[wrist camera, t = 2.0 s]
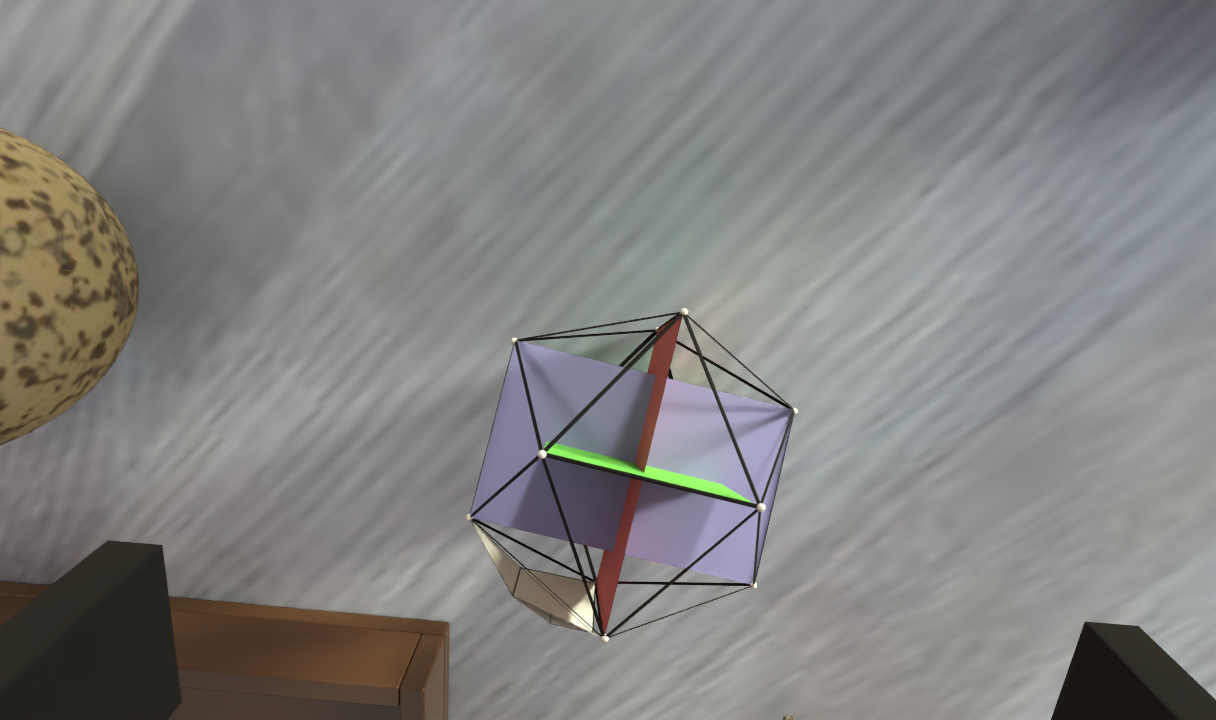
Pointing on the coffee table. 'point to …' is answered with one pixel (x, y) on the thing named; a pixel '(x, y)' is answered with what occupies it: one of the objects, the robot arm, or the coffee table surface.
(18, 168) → the decorative egg
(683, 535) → the geometric puzzle
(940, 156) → the coffee table surface
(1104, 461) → the coffee table surface
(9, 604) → the sorting tray
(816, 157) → the coffee table surface
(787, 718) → the lion figurine
